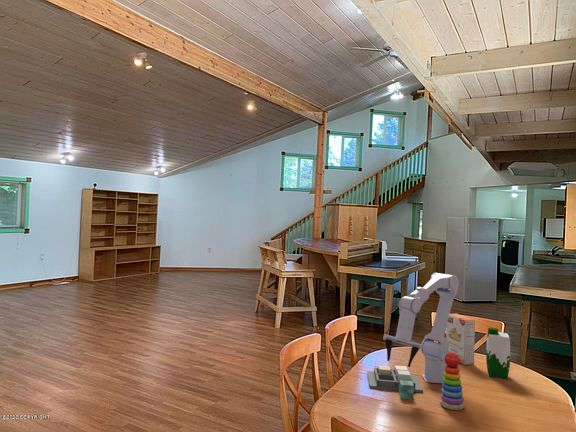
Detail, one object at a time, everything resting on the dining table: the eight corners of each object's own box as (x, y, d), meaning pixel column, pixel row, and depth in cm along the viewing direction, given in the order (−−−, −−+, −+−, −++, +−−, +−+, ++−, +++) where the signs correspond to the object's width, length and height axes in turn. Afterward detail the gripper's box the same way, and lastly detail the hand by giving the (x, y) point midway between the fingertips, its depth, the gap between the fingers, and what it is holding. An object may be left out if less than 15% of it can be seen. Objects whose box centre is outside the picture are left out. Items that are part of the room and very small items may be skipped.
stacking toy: (463, 403, 149) (464, 351, 150) (464, 413, 142) (466, 358, 142) (439, 399, 152) (441, 348, 152) (440, 408, 144) (441, 354, 145)
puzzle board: (415, 377, 174) (416, 364, 174) (423, 392, 158) (423, 378, 158) (367, 373, 176) (367, 360, 176) (369, 388, 160) (370, 373, 160)
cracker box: (444, 355, 204) (446, 313, 205) (455, 355, 206) (456, 313, 206) (463, 365, 191) (464, 320, 191) (474, 365, 192) (475, 319, 192)
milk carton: (485, 370, 185) (486, 325, 185) (508, 374, 181) (509, 328, 182) (486, 377, 177) (488, 330, 177) (510, 381, 173) (511, 333, 173)
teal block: (411, 394, 156) (411, 381, 156) (413, 399, 152) (413, 385, 152) (399, 393, 157) (399, 380, 157) (400, 398, 152) (401, 384, 152)
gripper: (385, 322, 159) (378, 358, 156) (424, 332, 153) (417, 370, 151) (387, 323, 165) (380, 357, 163) (425, 332, 159) (418, 368, 157)
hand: (398, 363), depth 157 cm, fingers open, 7 cm apart
